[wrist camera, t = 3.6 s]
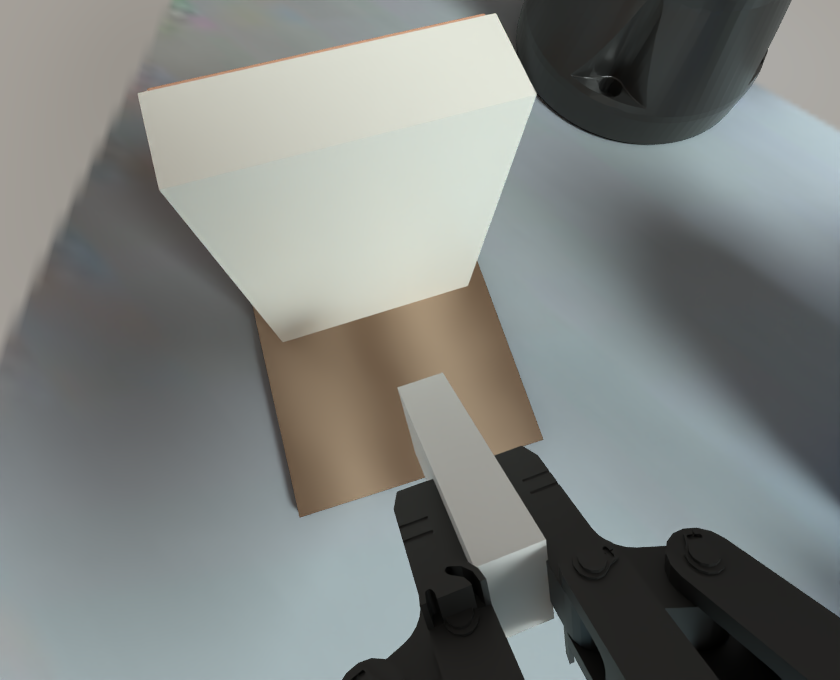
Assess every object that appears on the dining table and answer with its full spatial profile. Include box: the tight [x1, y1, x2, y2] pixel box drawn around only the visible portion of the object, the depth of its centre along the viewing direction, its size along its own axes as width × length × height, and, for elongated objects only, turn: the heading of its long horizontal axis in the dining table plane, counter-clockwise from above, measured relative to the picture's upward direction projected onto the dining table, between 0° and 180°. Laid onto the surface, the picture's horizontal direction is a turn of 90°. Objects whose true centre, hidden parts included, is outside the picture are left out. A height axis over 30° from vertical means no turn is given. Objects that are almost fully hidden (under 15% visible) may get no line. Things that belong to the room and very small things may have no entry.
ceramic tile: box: [138, 13, 537, 342], centre depth 19 cm, size 3×10×13 cm, turn 109°
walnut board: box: [252, 262, 543, 517], centre depth 26 cm, size 12×25×1 cm, turn 17°
